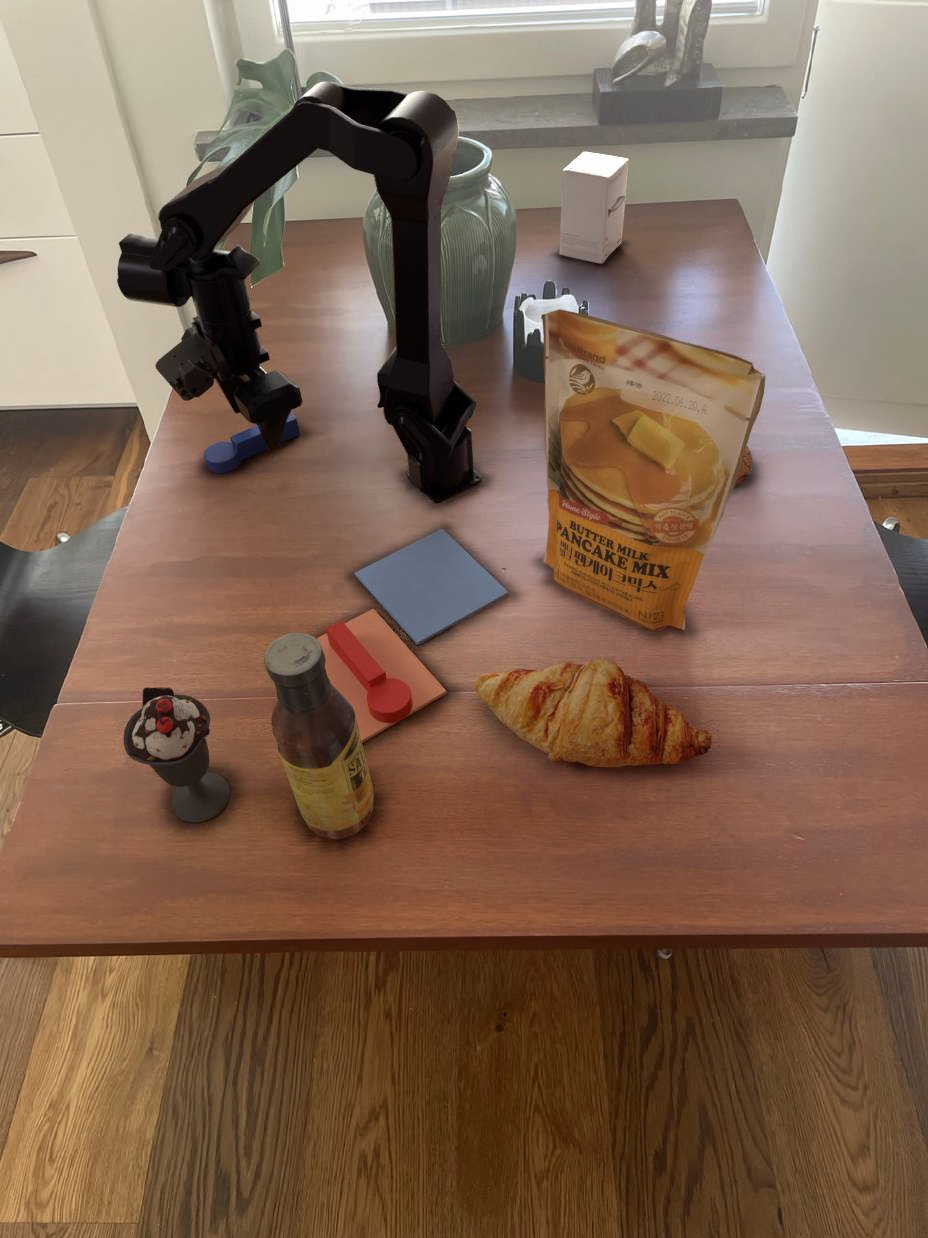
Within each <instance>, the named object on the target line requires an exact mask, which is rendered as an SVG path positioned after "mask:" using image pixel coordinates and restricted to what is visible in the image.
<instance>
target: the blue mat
mask: <svg viewBox="0 0 928 1238" xmlns="http://www.w3.org/2000/svg"><path fill="white" fill-rule="evenodd" d="M354 576H355V578H357V580H358V581H359V582H360V583H361V584H362V586H364V588H366V590H367V591H368V592H369V593H370V594H371V596H373V597H374V599H375V601H376V602H377V603H379V605H380V606H381V607H382V608H383V609H384V610H385V611H386V612H387V614H388V615H389V616H390V617H391V618H392V619H393V620H394V621H395V623H396V624H398V625H399V627H400V628H401V629H402V630H403V631H404V632H405V634H407V635H408V637H409V638H410V639H411V640H412V641H413V642H414V643H415V644H416V646H419V645H421V644H423V643H425V642H427V641H428V640H430V639H432V638H434V637H435V636H438V635H439V634H441V633H442V632H444V631H446V630H448V629H450V628H452V627H453V626H455V625H457V624H459V623H460V622H462V621H464V620H466V619H468V618H470V617H471V616H473V615H475V614H476V613H478V612H480V611H482V610H484V609H486V608H487V607H489V606H492V605H493V604H494V603H497V602H498V601H500V600H502V599H504V598H506V597H507V596H509V595H510V594H509V593H510V592H509V591H508V590H507V589H506V588H505V587H504V586H503V585H502V584H501V583H500V582H499V581H497V579H496V578H494V577H493V575H491V574H490V573H489V572H488V571H487V570H486V569H485V568H484V567H483V566H482V565H481V564H480V563H479V562H478V561H477V560H475V558H474V557H473V556H471V554H469V553H468V552H467V551H466V550H465V549H464V548H463V547H462V546H461V545H460V544H459V543H458V542H457V541H456V540H454V538H453V537H452V536H450V534H449V533H447V532H446V531H445V530H444V529H443V528H439V529H438V530H436V531H434V532H432V533H430V534H428V535H426V536H424V537H422V538H420V539H418V540H417V541H414V542H413V543H411V544H408V545H406V546H404V547H403V548H401V549H398V550H397V551H395V552H392V553H391V554H389V555H387V556H385V557H383V558H381V559H379V560H376V561H374V562H373V563H371V564H370V565H367V566H365V567H363V568H361V569H359V570H357V571H356V572H354Z"/></svg>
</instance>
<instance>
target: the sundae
mask: <svg viewBox="0 0 928 1238" xmlns="http://www.w3.org/2000/svg"><path fill="white" fill-rule="evenodd" d="M141 704H142V707H141V708H140V709H139V710H137V711H136V712H135V713H134V714H132V715H131V717H130V718H129V720H128V721H127V723H126V724H125V728H124V731H123V746H124V750H125V753H126V755H127V756H128V757H129V758H130V759H132V760H133V761H135V762H138V763H140V764H144V765H148V766H150V767H151V769H152V770H153V771H154V772H155V774H157V776H158V777H159V778H160V779H162V780H163V781H164V782H165V783H166V784H168V785H169V786H171V787H175V790H174V792H173V794H172V796H171V808H172V811H173V813H174V815H175V816H176V817H178V818H179V819H180V820H182V821H183V822H187V823H193V824H194V823H195V824H196V823H202V822H207V821H209V820H210V819H212V818H215V817H216V816H217V815H219V814H220V813H221V812H222V811H223V810H224V808H226V806H227V804H228V802H229V799H230V797H231V794H230V793H231V789H230V788H231V787H230V785H229V782H228V781H227V780H226V778H225V777H223V776H222V775H221V774H218V773H216V772H213V771H212V772H210V771H208V770H209V767H210V750H209V746H208V742H207V736H209V735H210V733H211V730H210V726H211V714H210V711H209V710H208V708H207V707H206V706H205V705H204V704H203V703H202V702H200V700H198V699H197V698H195V697H192V696H190V695H187V694H186V695H185V694H175V692H174V689H173V688H172V687H169V686H167V687H164V686H154V687H150V686H149V687H148V686H147V687H144V688H143V689H142V703H141Z"/></svg>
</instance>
